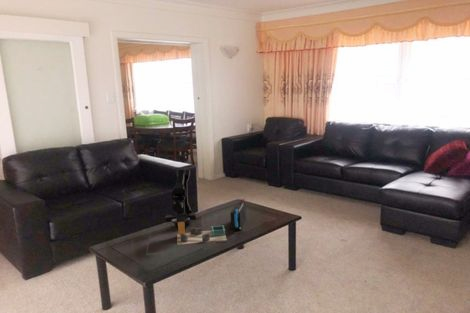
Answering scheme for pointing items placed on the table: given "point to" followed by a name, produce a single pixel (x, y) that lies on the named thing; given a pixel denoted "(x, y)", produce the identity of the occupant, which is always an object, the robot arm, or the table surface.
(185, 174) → the robot arm
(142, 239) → the table surface
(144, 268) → the table surface
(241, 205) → the game console
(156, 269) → the table surface
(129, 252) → the table surface
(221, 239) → the board
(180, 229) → the plug block
